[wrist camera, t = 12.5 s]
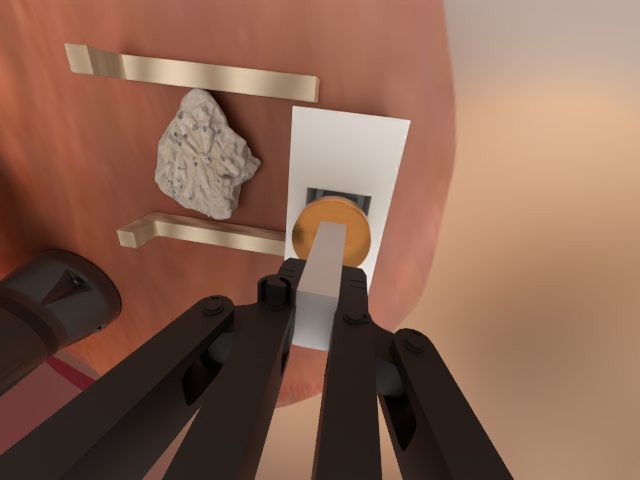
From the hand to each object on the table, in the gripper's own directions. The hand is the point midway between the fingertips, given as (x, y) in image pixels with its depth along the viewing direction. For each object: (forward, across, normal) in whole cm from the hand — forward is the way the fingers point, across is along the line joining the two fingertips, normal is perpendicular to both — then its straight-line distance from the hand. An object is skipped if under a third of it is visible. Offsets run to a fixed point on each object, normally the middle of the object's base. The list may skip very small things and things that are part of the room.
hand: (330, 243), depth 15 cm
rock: (+16, -15, +1) cm, 22 cm away
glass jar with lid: (+9, 0, 0) cm, 9 cm away
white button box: (+15, 0, 0) cm, 15 cm away
